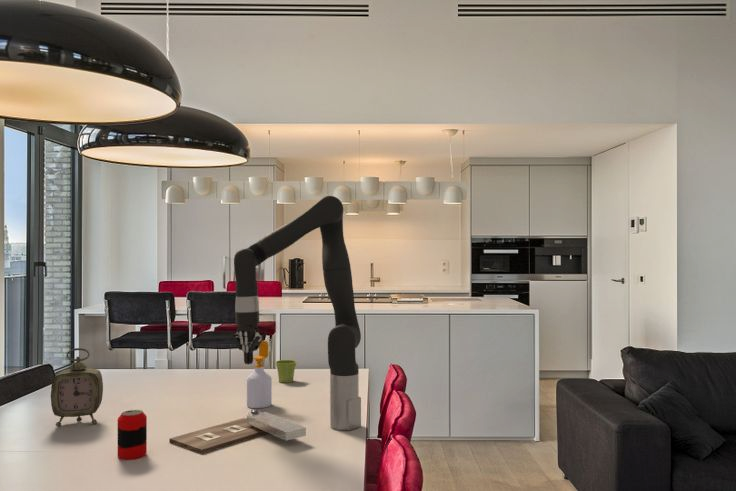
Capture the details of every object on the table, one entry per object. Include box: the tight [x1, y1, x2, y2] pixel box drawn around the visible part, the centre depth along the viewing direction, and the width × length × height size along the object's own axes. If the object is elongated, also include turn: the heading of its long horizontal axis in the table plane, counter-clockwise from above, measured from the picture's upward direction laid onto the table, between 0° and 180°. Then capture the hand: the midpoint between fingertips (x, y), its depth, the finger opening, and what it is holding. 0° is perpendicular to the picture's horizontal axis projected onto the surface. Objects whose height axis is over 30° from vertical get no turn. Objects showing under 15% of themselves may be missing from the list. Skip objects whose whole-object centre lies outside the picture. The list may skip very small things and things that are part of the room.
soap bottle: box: [246, 339, 273, 409], centre depth 220 cm, size 9×9×25 cm
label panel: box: [168, 417, 269, 455], centre depth 184 cm, size 16×28×2 cm, turn 141°
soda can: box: [117, 409, 148, 461], centre depth 167 cm, size 8×8×12 cm
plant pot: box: [275, 359, 298, 384], centre depth 261 cm, size 9×9×9 cm
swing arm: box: [246, 409, 307, 442], centre depth 185 cm, size 7×26×3 cm, turn 41°
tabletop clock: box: [50, 347, 104, 428], centre depth 198 cm, size 14×9×25 cm, turn 105°
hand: (248, 363), depth 193 cm, fingers closed
